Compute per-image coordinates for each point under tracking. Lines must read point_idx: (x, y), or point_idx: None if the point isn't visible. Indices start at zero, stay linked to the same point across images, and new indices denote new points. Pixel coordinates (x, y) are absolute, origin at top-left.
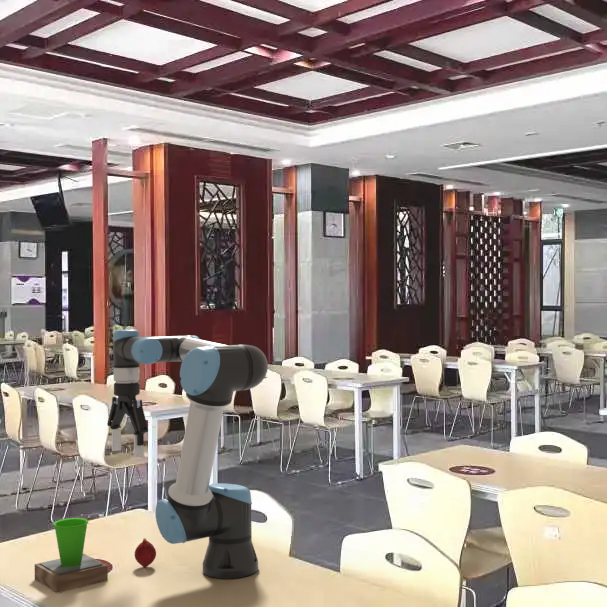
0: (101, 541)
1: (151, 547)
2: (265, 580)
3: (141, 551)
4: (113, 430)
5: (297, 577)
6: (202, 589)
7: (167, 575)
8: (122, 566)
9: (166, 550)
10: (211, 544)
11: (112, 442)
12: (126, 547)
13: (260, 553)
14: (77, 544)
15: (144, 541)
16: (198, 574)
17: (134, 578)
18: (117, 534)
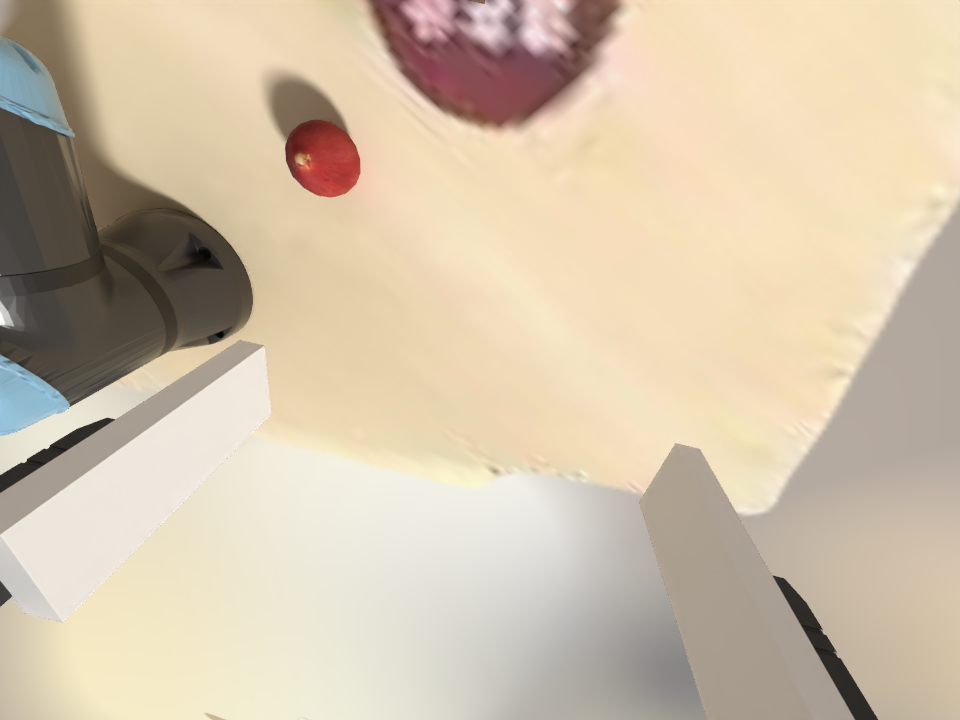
0: (656, 262)
1: (288, 165)
2: None
3: (296, 127)
4: (798, 714)
5: None
6: (87, 120)
7: (240, 146)
8: (399, 117)
9: (426, 305)
10: (112, 243)
11: (723, 518)
12: (539, 263)
13: None
14: None
15: (296, 152)
16: (202, 207)
17: (273, 53)
18: (660, 338)
